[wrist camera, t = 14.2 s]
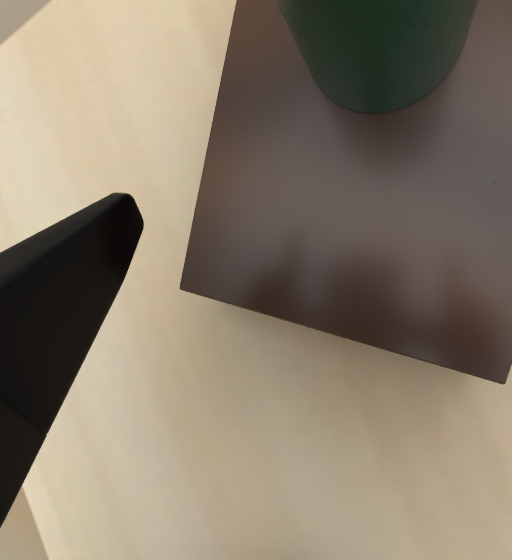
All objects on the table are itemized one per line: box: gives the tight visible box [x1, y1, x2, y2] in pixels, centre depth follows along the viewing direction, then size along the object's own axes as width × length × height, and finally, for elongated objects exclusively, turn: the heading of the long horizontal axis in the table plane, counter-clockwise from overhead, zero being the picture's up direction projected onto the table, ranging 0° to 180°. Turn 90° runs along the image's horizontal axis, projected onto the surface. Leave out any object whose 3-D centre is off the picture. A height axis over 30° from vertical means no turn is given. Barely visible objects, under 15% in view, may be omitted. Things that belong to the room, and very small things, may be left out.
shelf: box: [180, 0, 512, 384], centre depth 19 cm, size 16×14×5 cm
